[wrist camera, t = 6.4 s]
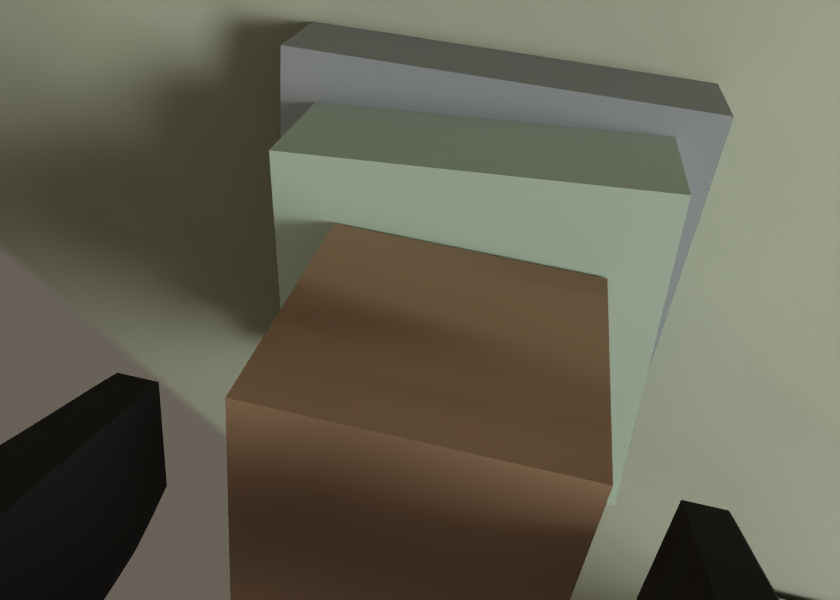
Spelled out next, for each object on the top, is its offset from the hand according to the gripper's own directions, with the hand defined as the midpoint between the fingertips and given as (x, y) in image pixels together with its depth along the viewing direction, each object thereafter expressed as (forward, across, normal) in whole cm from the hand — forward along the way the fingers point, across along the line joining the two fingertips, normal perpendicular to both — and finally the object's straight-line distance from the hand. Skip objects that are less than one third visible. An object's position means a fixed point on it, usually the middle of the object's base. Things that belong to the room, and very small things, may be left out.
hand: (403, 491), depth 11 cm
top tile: (+6, 0, 0) cm, 6 cm away
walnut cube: (+3, 0, 0) cm, 4 cm away
